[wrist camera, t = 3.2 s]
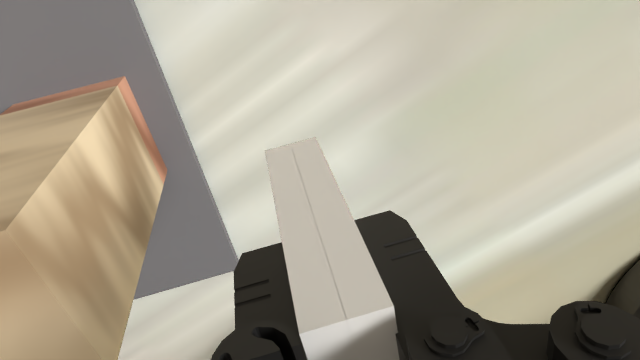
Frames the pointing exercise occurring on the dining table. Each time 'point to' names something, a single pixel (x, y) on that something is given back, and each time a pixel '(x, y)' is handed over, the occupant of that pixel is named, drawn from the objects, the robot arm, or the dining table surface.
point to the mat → (155, 105)
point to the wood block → (74, 220)
